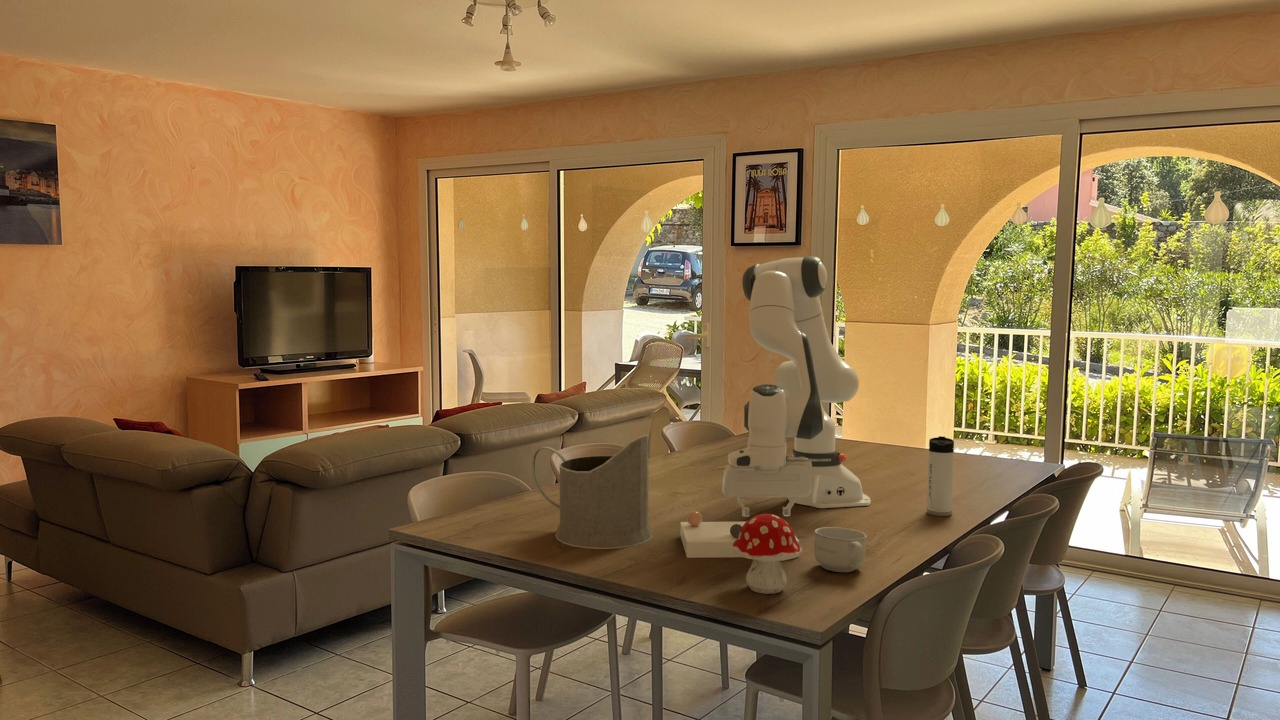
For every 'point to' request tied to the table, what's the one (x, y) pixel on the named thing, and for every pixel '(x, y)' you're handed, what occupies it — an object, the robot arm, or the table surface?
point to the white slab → (709, 539)
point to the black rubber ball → (735, 530)
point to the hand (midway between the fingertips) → (766, 515)
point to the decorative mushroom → (766, 551)
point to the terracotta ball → (694, 518)
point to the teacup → (839, 548)
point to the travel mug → (940, 476)
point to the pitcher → (603, 498)
